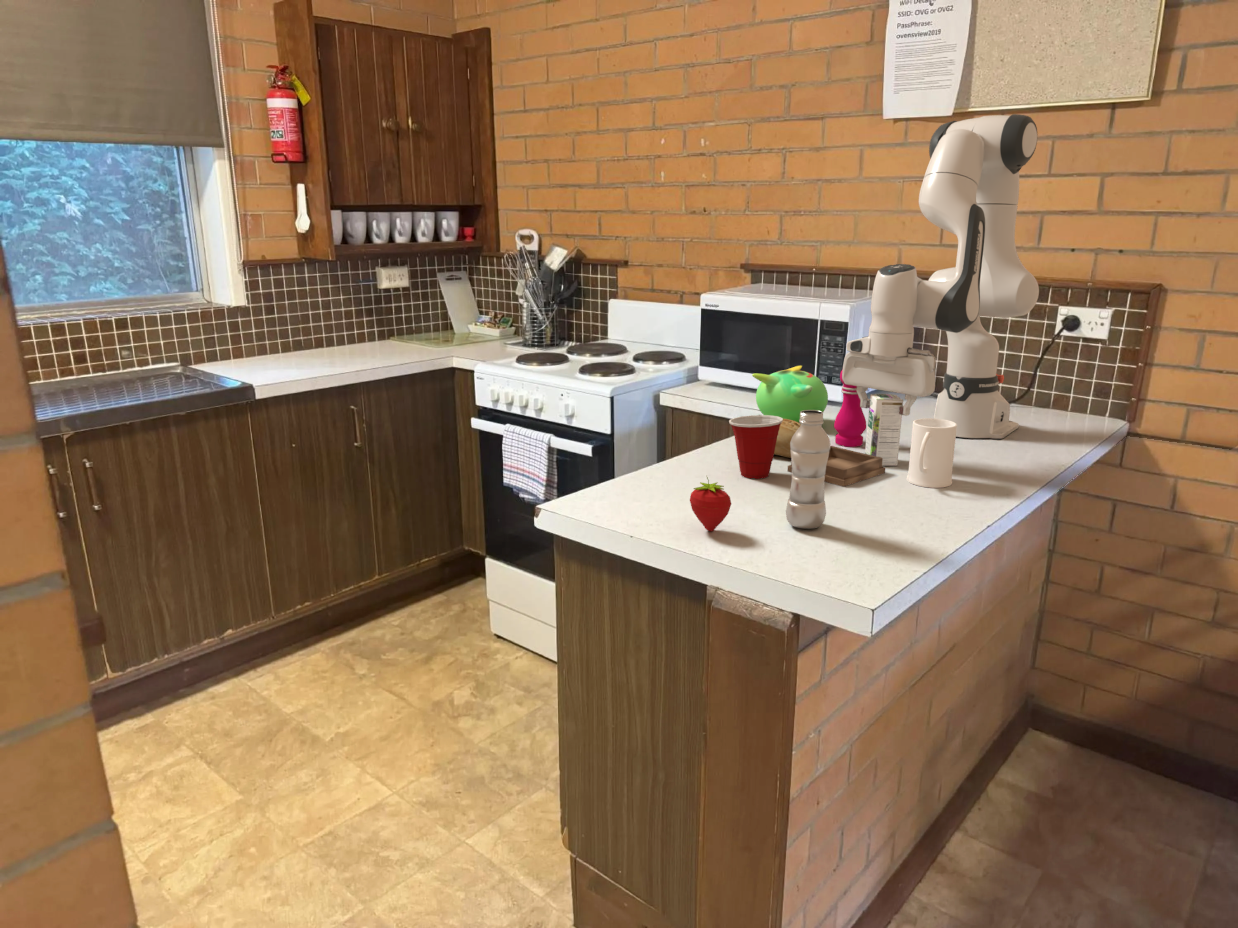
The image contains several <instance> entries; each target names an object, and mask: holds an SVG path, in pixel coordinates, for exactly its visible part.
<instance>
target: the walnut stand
mask: <svg viewBox="0 0 1238 928" xmlns="http://www.w3.org/2000/svg"><path fill="white" fill-rule="evenodd" d="M882 460H883V458H881V457H876V456H872V455H868V454H865V452H864V453H862V452H859V451H856V450H855V451H854V450H850V449H847V448H844V447H843V448H842V447H837V446H834V445H830V450H829V456H828V460H827V465H826V472H825V480H824V483H829V484H832V485H836V486H839V487H843V488H844V487H847V486H850V485H854V484H856V483H859V482H862V481H865V480H868V479H871V478H875V477H878V476H880V475H884V474H885V473H886V466H882ZM790 463H791V464H789V465H787V472H790V473H792V461H791V462H790Z"/></svg>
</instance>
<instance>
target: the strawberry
mask: <svg viewBox="0 0 1238 928" xmlns="http://www.w3.org/2000/svg"><path fill="white" fill-rule="evenodd" d="M706 479H707V483H706V482H699V484H701V485H702V486H697V487H694V488H693V491H692V492H691V493H690V498H689V502H690V506H691V511H692V512H693V513H694V515H695V517H696V518H697V519H698V520H697V521H699V522H700V523H701V524H702V526H703V527H704V529H705V530H706V531H708V532H714V531H715V530H716V529H717V528H718V527H719V525H721V524H722V522H723V521H724V520H725V518H727V516H728V515H729V513H730V508H731V507H732V501H731V497H730V495H729V494H728V493H727V492H726V491H725V488H723V487H725V485H720V484H718V482H717V481H716V482H713V483H710V480H709V478H708V475H706Z"/></svg>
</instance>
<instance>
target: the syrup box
mask: <svg viewBox="0 0 1238 928" xmlns="http://www.w3.org/2000/svg"><path fill="white" fill-rule="evenodd" d="M869 396H870V397H869V399H870V406H869V408H868V418H867V425H866V436H865V437H866V438H865V451H864V454H868V455H872V456H876V457H881V458H883V460H882V467H886V466H887V467H888V466H893V467H895V466H898V461H899V450H900V439H901V429H902V421H903V420H902V418H903V415H900V414H899V411H900V410H899V407H900V406H904V400H903V399H902V398H900V396H898V395H896V394H893V393H892V394H890V393H872V394H870V395H869Z"/></svg>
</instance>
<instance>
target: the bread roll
mask: <svg viewBox="0 0 1238 928" xmlns="http://www.w3.org/2000/svg"><path fill="white" fill-rule="evenodd" d="M800 426H801V424H799V423H798V422H796V421H793V420H789V419H783V421H782V423H781V425H780V428H779V432H778V436H777V440H776V446H775V451H774V455H776V456H781V457H785V458H789V459H791V448H790V442H791V439H792V437H793V435H794V434H795V432H796V431H797V430H798V429H799V427H800Z"/></svg>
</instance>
